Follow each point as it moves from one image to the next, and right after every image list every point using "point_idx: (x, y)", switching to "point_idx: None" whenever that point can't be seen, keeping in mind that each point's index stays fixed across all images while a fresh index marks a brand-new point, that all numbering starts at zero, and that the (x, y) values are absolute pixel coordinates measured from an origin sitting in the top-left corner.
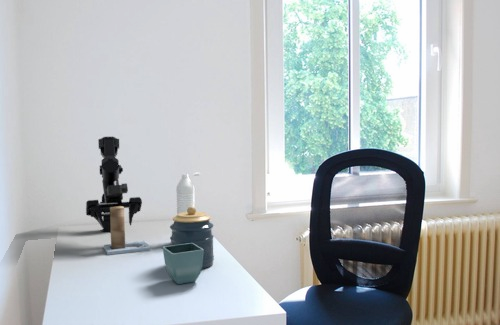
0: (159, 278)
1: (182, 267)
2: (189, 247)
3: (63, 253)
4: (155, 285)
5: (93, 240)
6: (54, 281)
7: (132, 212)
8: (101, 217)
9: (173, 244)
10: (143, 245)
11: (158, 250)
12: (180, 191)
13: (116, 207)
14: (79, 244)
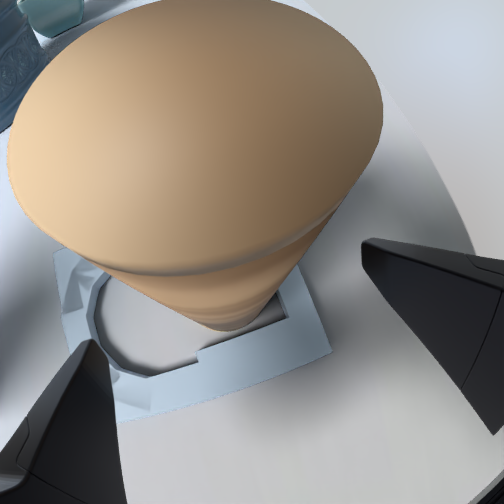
0: (98, 22)
1: None
2: (26, 6)
3: (459, 243)
4: (114, 4)
5: (409, 497)
6: (315, 11)
7: (16, 443)
8: (444, 262)
9: (30, 25)
10: (82, 304)
11: (33, 253)
12: None
13: (194, 55)
14: (455, 414)
